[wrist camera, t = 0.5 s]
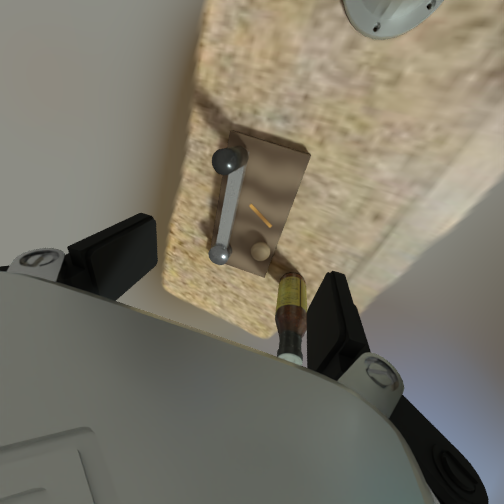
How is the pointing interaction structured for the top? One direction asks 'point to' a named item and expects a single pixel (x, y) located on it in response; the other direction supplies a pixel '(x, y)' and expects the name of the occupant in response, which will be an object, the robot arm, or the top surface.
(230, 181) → the lever
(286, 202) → the board
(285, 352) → the sauce bottle
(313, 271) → the top surface
